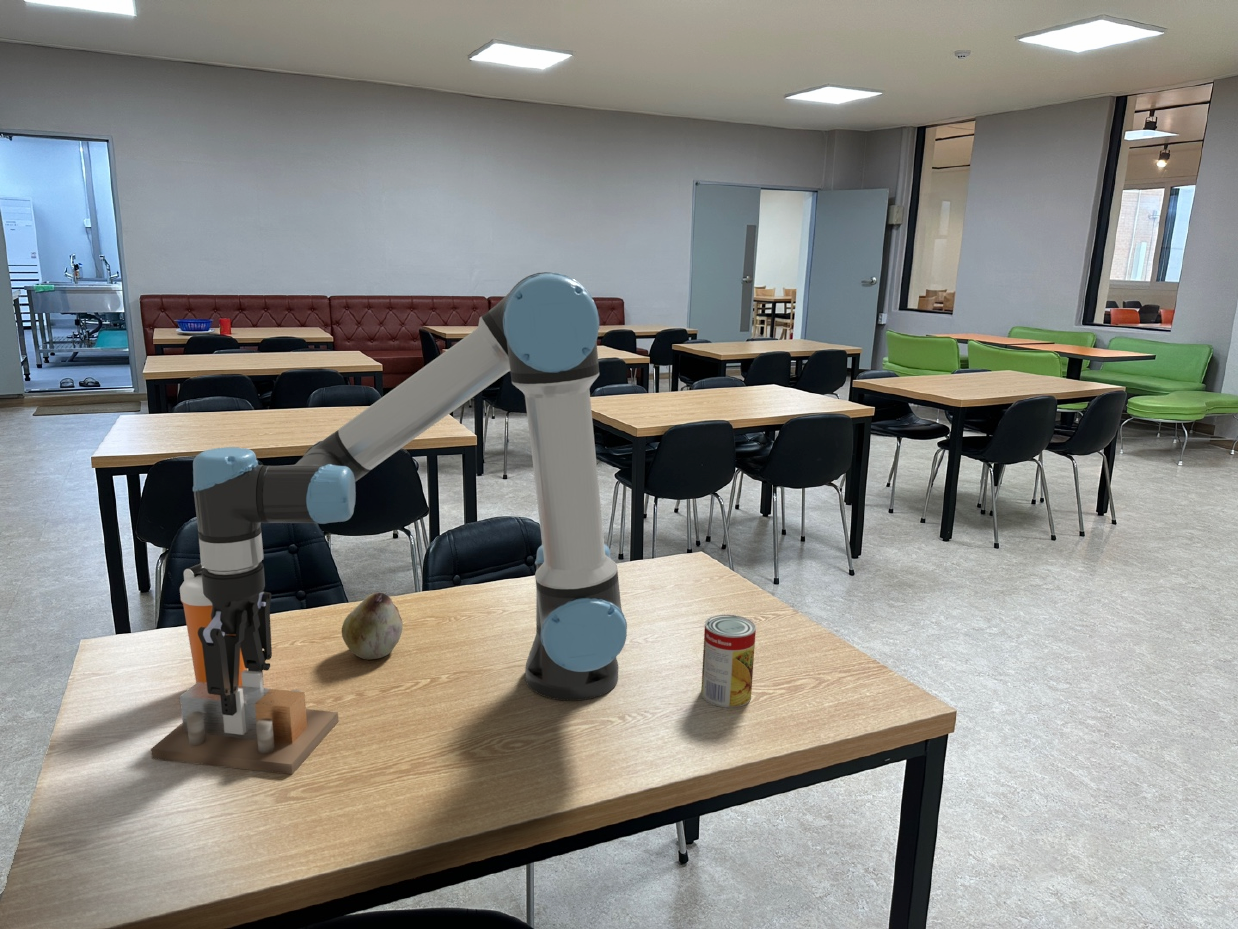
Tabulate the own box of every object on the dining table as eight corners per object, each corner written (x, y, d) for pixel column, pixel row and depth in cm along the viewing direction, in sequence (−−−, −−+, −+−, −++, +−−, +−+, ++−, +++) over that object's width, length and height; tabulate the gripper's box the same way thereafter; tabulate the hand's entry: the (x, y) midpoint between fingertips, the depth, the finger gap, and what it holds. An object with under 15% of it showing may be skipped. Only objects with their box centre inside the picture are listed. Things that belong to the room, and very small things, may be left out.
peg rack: (338, 721, 121) (336, 687, 119) (292, 774, 108) (289, 737, 107) (211, 708, 123) (207, 675, 122) (151, 759, 111) (147, 722, 109)
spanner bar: (183, 732, 115) (179, 696, 113) (201, 716, 118) (198, 681, 117) (292, 743, 112) (289, 707, 111) (307, 727, 116) (304, 692, 115)
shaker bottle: (229, 705, 124) (217, 581, 119) (177, 698, 126) (163, 575, 121) (265, 677, 133) (255, 560, 128) (216, 670, 134) (204, 554, 130)
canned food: (757, 690, 133) (762, 621, 130) (740, 713, 126) (745, 640, 123) (712, 678, 136) (716, 610, 133) (693, 699, 129) (696, 628, 127)
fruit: (376, 672, 135) (373, 604, 132) (330, 661, 139) (326, 594, 136) (414, 646, 144) (411, 582, 142) (369, 636, 148) (366, 573, 145)
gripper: (243, 541, 118) (254, 689, 124) (163, 586, 102) (180, 755, 107) (292, 545, 117) (301, 695, 123) (220, 591, 101) (234, 761, 106)
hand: (245, 722), depth 115 cm, fingers open, 4 cm apart
